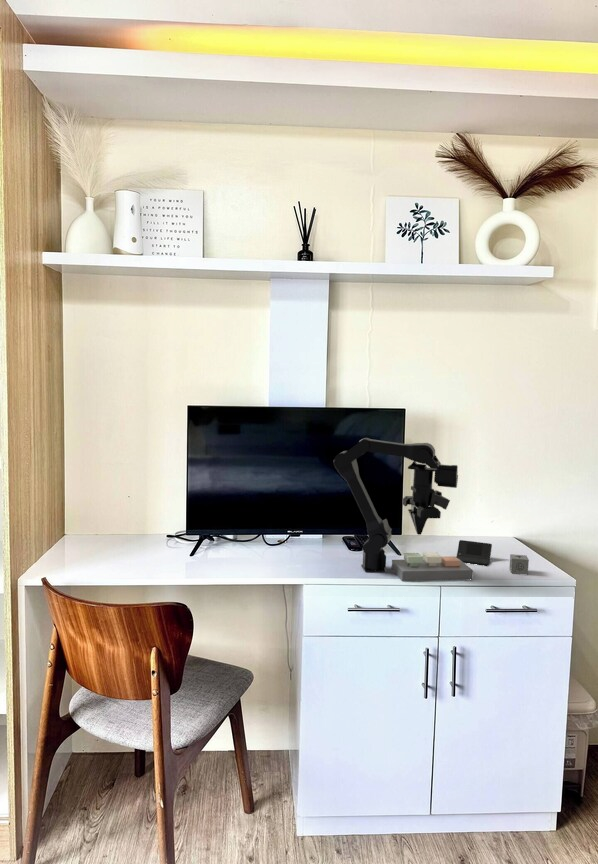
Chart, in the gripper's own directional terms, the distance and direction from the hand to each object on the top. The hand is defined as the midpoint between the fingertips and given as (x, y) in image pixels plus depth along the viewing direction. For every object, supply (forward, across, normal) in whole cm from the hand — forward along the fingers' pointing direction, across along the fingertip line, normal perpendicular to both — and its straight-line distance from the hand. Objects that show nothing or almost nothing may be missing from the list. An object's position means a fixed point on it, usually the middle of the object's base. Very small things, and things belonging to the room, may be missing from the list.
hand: (419, 534), depth 214 cm
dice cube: (+12, 0, -34) cm, 36 cm away
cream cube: (+11, 0, -5) cm, 12 cm away
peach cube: (+12, 0, -11) cm, 16 cm away
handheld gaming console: (+13, +13, -24) cm, 30 cm away
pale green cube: (+11, 0, +1) cm, 11 cm away
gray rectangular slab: (+13, 0, -5) cm, 13 cm away
